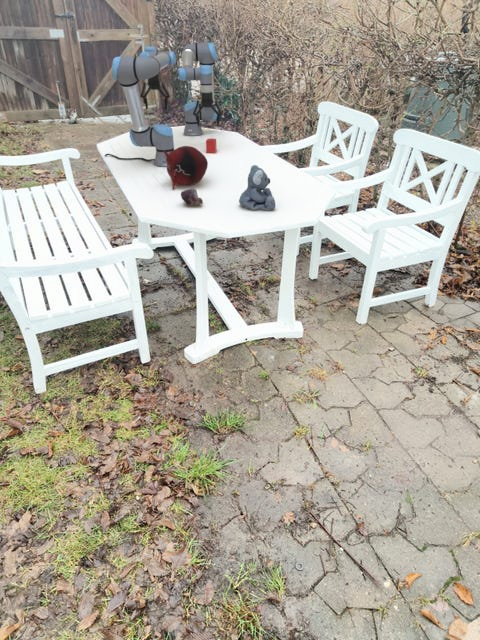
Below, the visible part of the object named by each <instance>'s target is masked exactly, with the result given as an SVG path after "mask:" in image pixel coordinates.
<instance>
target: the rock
mask: <svg viewBox="0 0 480 640" xmlns="http://www.w3.org/2000/svg"><path fill="white" fill-rule="evenodd" d="M180 197H181V200H182V201H183V202H184V203H185V205H187V206H189V207H191V206H192V207H193V206H201V205H203V204H204V202H203V199H202V197H199V195H198V190H197V189H196V188H188V189H185V190H181V192H180Z"/></svg>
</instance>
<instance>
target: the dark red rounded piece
mask: <svg viewBox="0 0 480 640" xmlns="http://www.w3.org/2000/svg"><path fill="white" fill-rule="evenodd" d="M163 152H164V153H165V155H166V157H167V158H166V159H167V167H166V173H167V174H168V176H169V177H170V180H171V182H172V190H175V188H176V185H177V186H186V187H187V186H188V187H189V186H193V185H196V184H197V183H199V182H200V181H201V180H202V179H203V178H204V176H205V174H206V173H207V170H208V164H209V163H208V159H207V158H206V155H204V153H203V152H201V150H199V149H197V148H196V147H194V146H190V145H182V146H178V147H176V148H174V150H173V151H171V152H170V153H169V154H168V153H167V152H166V151H165V150H163Z"/></svg>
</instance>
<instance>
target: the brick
mask: <svg viewBox="0 0 480 640" xmlns="http://www.w3.org/2000/svg"><path fill="white" fill-rule="evenodd" d="M217 150H218V149H217V138H207V139H206V140H205V151H206V154H216V153H217Z"/></svg>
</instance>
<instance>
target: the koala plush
mask: <svg viewBox="0 0 480 640" xmlns="http://www.w3.org/2000/svg"><path fill="white" fill-rule="evenodd" d="M270 183H271V178H269V176H268V175H267V173H266V172H265V170H264V169H263V168H261V167H259V165H257V164H253V165H250V170H249V173H248V176H247V188H246V189H245V190H244V191H243V192H242V193H241V194H240V197H239V199H238V203H239V204H240V206H241V207H242V208H246V209H247V210H252V211H255V210H261V211H272V210H274V209H275V208H276V200H275V198H274V196H273V194H272V191H271V188H270V187H268V186H269V185H270Z"/></svg>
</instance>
